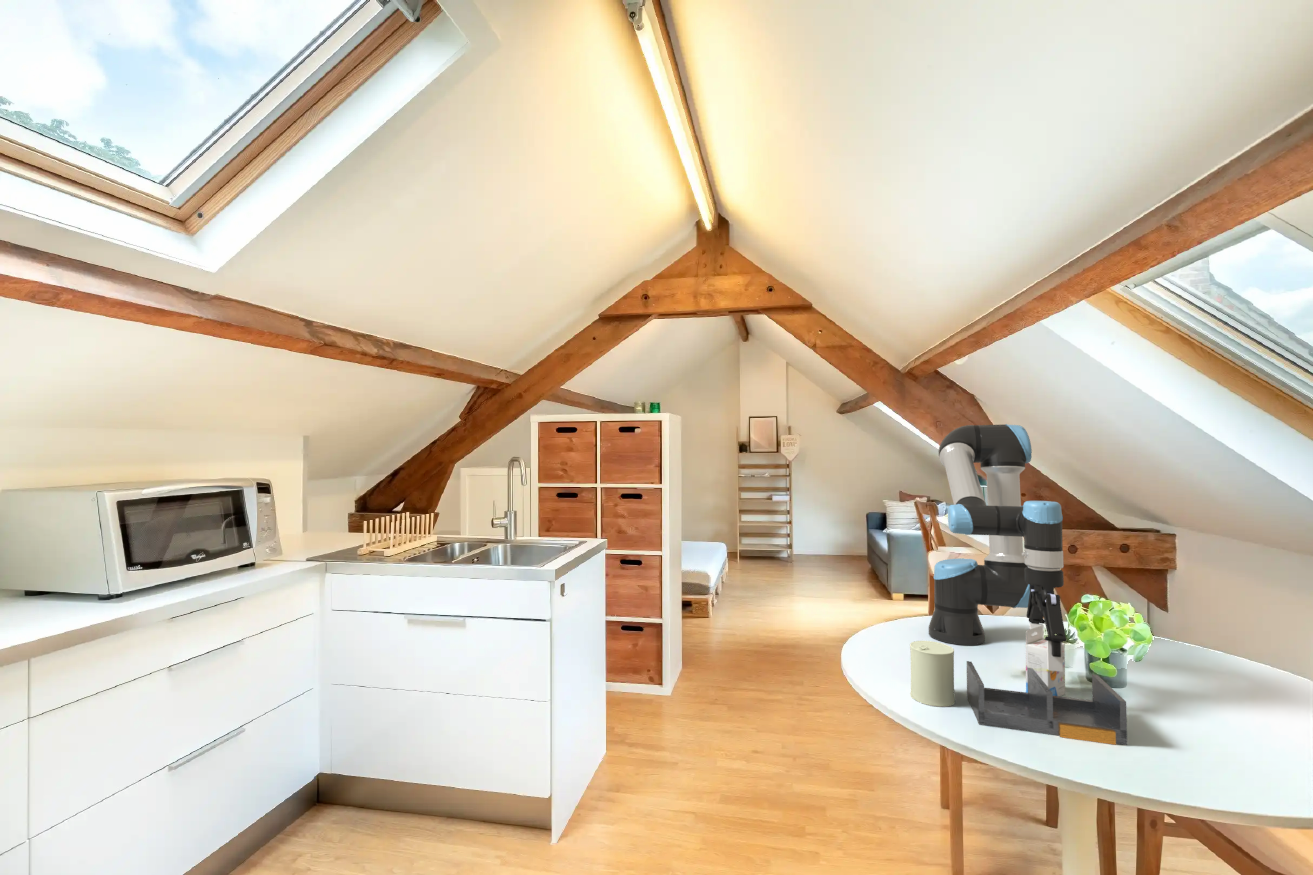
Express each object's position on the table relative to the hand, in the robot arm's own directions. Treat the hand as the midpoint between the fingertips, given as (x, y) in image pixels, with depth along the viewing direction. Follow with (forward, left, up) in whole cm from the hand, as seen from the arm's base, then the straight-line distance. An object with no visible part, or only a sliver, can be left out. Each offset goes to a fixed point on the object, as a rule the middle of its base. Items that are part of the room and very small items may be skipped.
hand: (1045, 660), depth 133 cm
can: (+11, -25, -8) cm, 28 cm away
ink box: (0, 0, -8) cm, 8 cm away
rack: (+15, -5, -8) cm, 17 cm away
